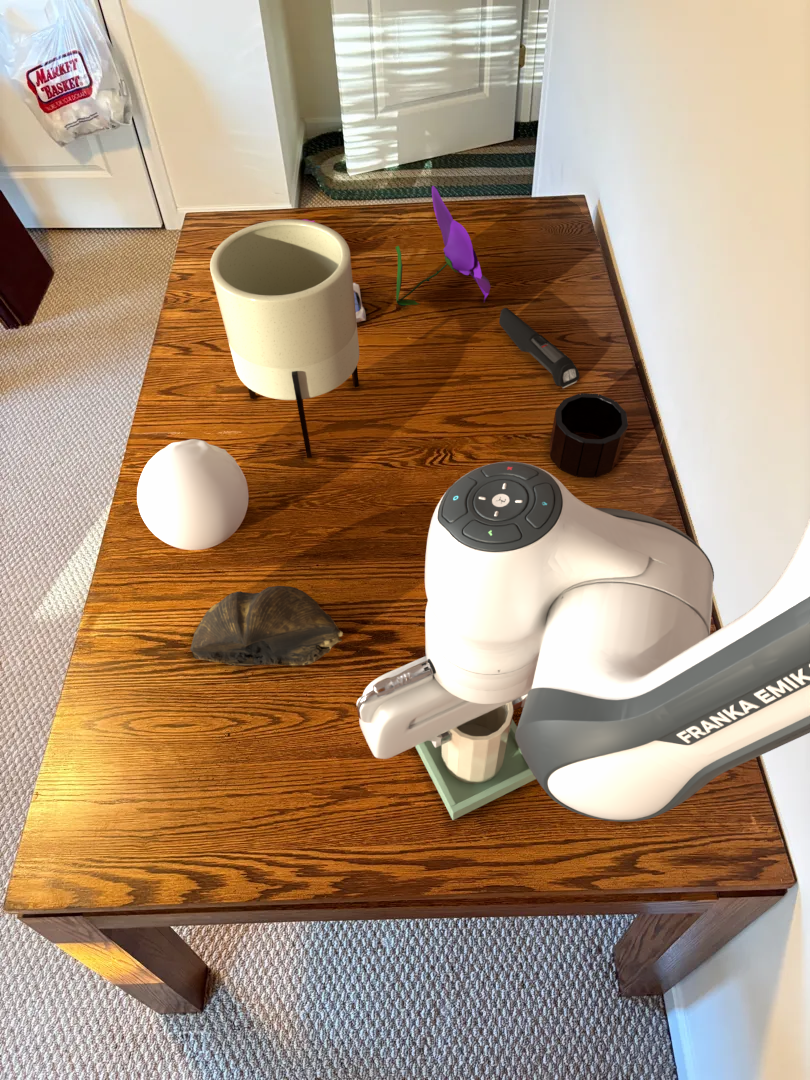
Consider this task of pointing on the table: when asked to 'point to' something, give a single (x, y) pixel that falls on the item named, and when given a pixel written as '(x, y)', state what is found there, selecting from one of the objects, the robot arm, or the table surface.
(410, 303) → the flower
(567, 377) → the electric trimmer
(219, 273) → the planter
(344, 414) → the table surface
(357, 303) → the toy car
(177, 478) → the decorative ball
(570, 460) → the dark faceted pot
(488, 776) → the cup
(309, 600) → the seashell
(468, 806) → the tray
